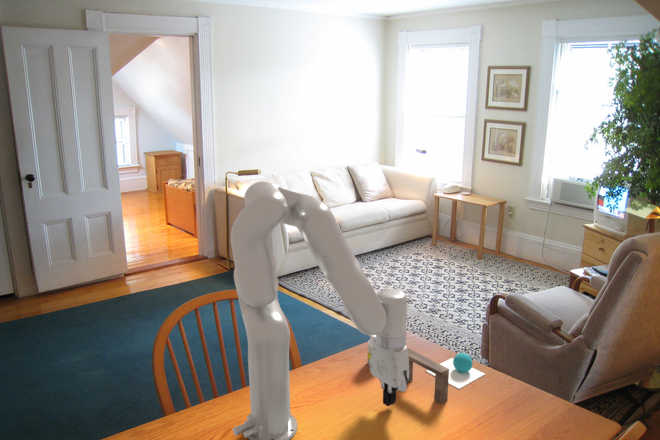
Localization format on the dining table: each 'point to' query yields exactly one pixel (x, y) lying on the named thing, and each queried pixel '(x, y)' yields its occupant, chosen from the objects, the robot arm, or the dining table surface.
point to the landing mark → (459, 375)
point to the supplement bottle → (370, 347)
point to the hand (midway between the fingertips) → (389, 402)
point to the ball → (462, 362)
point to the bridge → (436, 368)
